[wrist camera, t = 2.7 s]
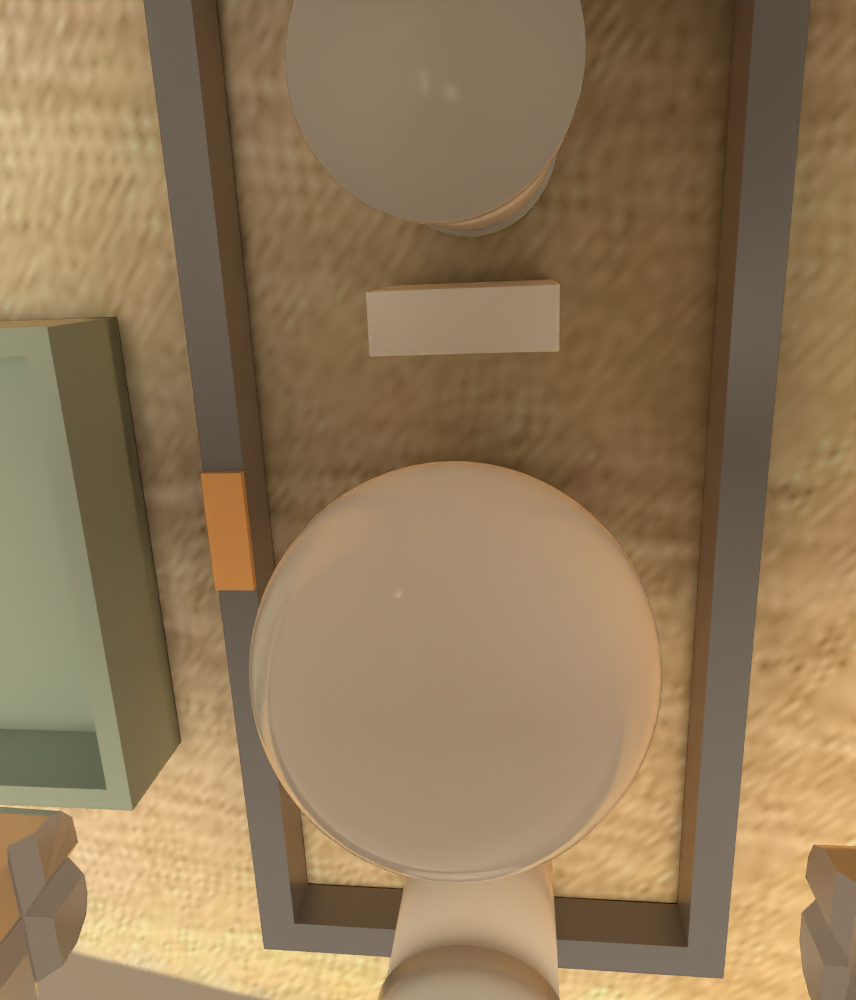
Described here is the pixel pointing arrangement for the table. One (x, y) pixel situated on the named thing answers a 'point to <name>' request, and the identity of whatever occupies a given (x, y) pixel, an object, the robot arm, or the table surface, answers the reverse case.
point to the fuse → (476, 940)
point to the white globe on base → (437, 102)
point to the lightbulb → (455, 672)
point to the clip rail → (498, 329)
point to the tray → (76, 577)
